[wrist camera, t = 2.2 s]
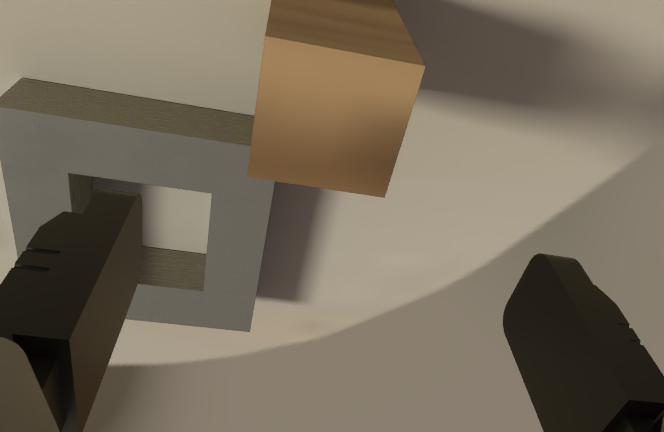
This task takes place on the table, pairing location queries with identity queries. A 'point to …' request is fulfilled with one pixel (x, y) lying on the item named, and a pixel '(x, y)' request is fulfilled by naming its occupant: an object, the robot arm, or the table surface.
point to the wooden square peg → (334, 94)
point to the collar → (147, 168)
